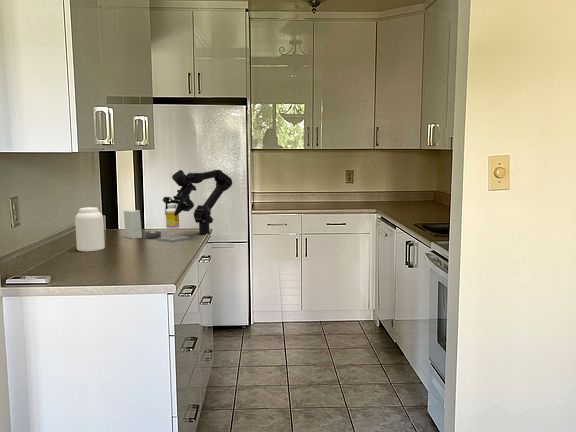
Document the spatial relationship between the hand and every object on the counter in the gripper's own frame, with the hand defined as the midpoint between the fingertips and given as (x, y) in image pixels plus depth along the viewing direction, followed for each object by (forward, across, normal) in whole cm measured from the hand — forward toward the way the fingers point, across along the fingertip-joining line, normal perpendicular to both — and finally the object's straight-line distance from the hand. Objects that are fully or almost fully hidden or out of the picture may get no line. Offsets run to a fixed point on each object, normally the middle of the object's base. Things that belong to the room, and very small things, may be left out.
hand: (170, 215), depth 279 cm
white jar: (+36, +13, +19) cm, 43 cm away
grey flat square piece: (+8, 0, -10) cm, 13 cm away
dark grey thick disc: (+10, +14, -9) cm, 19 cm away
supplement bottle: (+4, 0, -6) cm, 7 cm away
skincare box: (+13, +24, -5) cm, 28 cm away
